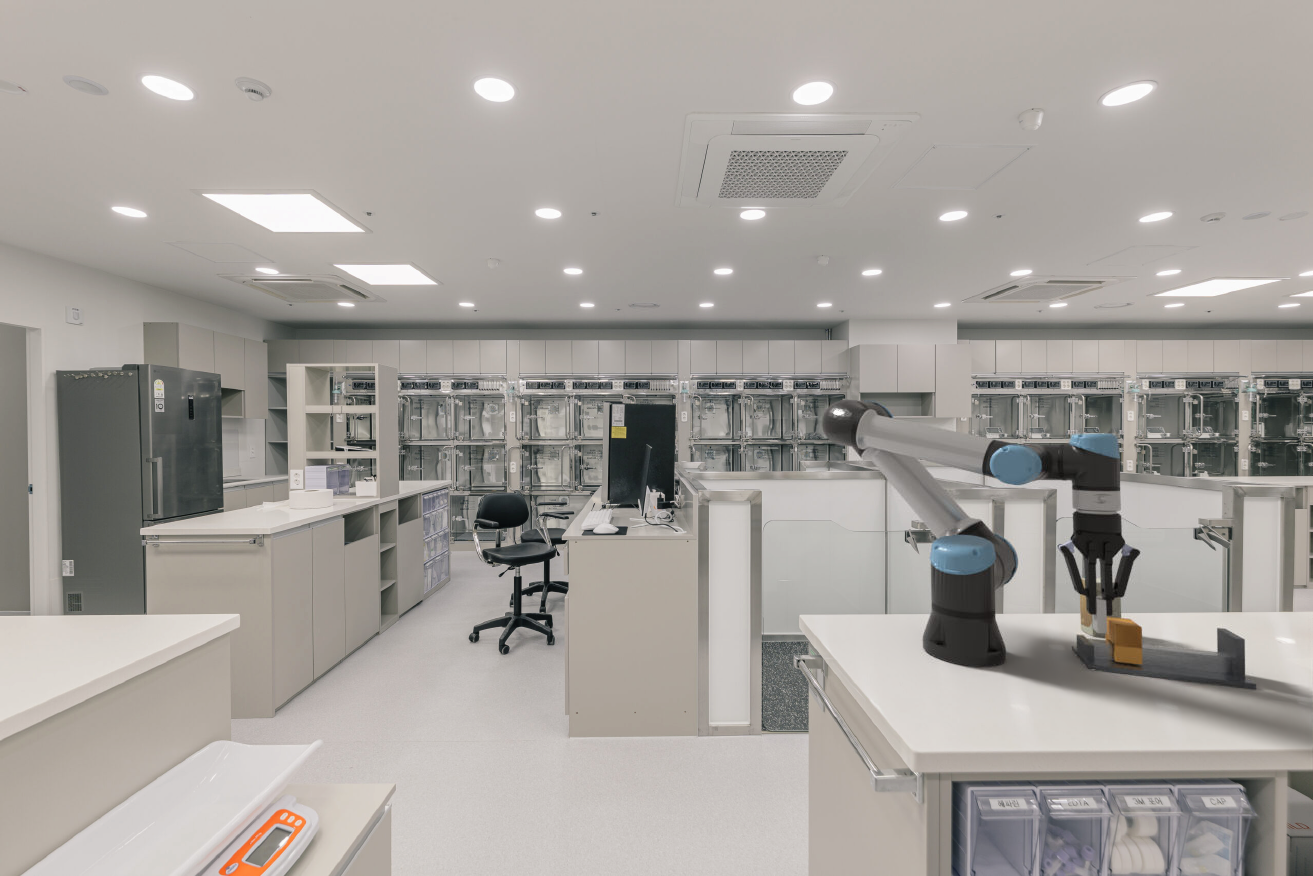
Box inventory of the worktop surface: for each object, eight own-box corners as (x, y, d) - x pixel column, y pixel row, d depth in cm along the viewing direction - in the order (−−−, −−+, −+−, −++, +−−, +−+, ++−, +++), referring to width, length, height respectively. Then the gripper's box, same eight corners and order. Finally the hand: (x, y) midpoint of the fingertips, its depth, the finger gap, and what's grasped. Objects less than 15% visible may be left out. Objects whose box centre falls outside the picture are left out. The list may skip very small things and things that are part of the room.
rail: (1088, 669, 106) (1087, 627, 106) (1071, 650, 115) (1071, 612, 115) (1256, 689, 97) (1255, 643, 97) (1223, 667, 106) (1222, 625, 106)
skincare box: (1108, 630, 126) (1108, 577, 126) (1123, 637, 122) (1122, 582, 122) (1078, 630, 127) (1078, 576, 127) (1091, 636, 123) (1091, 581, 123)
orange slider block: (1116, 661, 106) (1115, 625, 106) (1105, 651, 111) (1105, 616, 111) (1142, 664, 104) (1141, 627, 104) (1130, 654, 109) (1130, 618, 109)
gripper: (1062, 512, 108) (1065, 633, 108) (1146, 514, 103) (1150, 641, 103) (1051, 508, 115) (1054, 622, 115) (1130, 510, 110) (1133, 628, 110)
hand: (1099, 631), depth 109 cm, fingers closed
